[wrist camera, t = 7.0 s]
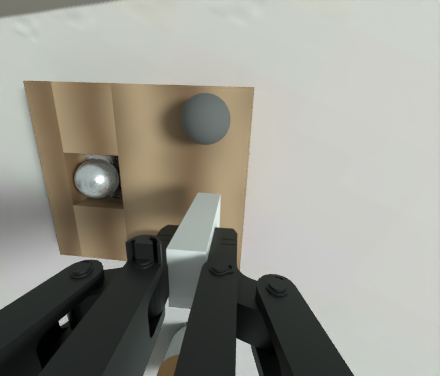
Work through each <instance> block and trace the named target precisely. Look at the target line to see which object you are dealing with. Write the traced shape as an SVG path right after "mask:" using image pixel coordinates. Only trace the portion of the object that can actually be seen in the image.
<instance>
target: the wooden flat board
mask: <svg viewBox="0 0 440 376" xmlns="http://www.w3.org/2000/svg"><path fill="white" fill-rule="evenodd" d="M23 82H24V87H25V91H26V96H27V101H28V105H29V110H30V115H31V119H32V124H33V129H34V133H35V138H36V143H37V147H38V152H39V156H40V161H41V166H42V170H43V175H44V180H45V184H46V189H47V194H48V198H49V203H50V208H51V212H52V217H53V222H54V226H55V231H56V236H57V240H58V245H59V250H60V254H62V255H72V256H82V257H92V258H102V259H112V260H122V261H127V253H126V244H125V242H126V241H128V240H129V239H131V238H133V237H135V236H139V235H154V236H156V235H157V234H158V232H159V231H160V229H162V228H163V227H165V226H166V225H180V224H181V222H182V220H183V218H184V217H185V215H186V213H187V211H188V209H189V208H190V206H191V204H192V202H193V201H194V199H195V197H196V195H197V194H198V193H214V194H221V200H220V227H219V228H232V229H234V230H235V231H236V232H237V267H238V269H239V271H240V260H241V247H242V235H243V222H244V209H245V197H246V184H247V172H248V159H249V147H250V134H251V121H252V109H253V96H254V87H222V86H187V85H153V84H118V83H84V82H49V81H23ZM200 93H210V94H214V95H216V96H218V97H219V98H221V99H222V100H223V101H224V102H225V104H226V105H227V107H228V109H229V112H230V127H229V130H228V132H227V134H226V135H225V136H224V137H223V138H222V139H221V140H220V141H218V142H216V143H214V144H210V145H202V144H198V143H196V142H194V141H192V140H191V139H190V138H189V137H188V136H187V135H186V134H185V132H184V130H183V128H182V124H181V113H182V109H183V107H184V105H185V103H186V102H187V101H188V100H189V99H190V98H191V97H193V96H195V95H197V94H200ZM86 154H97V155H115V156H118V160H119V169H120V179H121V188H122V198H114V197H104V198H98V199H97V198H90V197H87V196H85V195H84V194H82V193H81V192H80V191H79V190H78V189H77V187H76V185H75V181H74V176H75V172H76V170H77V168H78V167H79V166H80V165H81V164H82V163H84V162H86V161H87V159H86Z"/></svg>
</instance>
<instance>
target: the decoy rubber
mask: <svg viewBox="0 0 440 376" xmlns="http://www.w3.org/2000/svg"><path fill="white" fill-rule="evenodd" d="M181 124H182V128H183V130H184V132H185V134H186V135H187V136H188V137H189V138H190V139H191V140H192V141H194V142H196V143H198V144H202V145H210V144H214V143H216V142H218V141H220V140H221V139H222V138H223V137H224V136H225V135H226V134H227V132H228V130H229V127H230V112H229V109H228V107H227V105H226V104H225V102H224V101H223V100H222V99H221V98H219V97H218V96H216V95H214V94H210V93H200V94H197V95H195V96H193V97H191V98H190V99H189V100H188V101H187V102H186V103H185V105H184V107H183V109H182V113H181Z"/></svg>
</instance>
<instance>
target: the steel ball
mask: <svg viewBox="0 0 440 376" xmlns="http://www.w3.org/2000/svg"><path fill="white" fill-rule="evenodd" d="M74 181H75V185H76V187H77V189H78V190H79V191H80V192H81V193H82V194H84V195H85V196H87V197H90V198H97V199H98V198H104V197H107V196H109V195H111V194H112V193H113V192H114V191H115V190H116V189H117V187H118V185H119V174H118V171H117V169H116V168H115V167H114V166H113V165H112V164H111V163H109V162H107V161H105V160H101V159H92V160H88V161H86V162H84V163H82V164H81V165H80V166H79V167H78V168H77V170H76V172H75V176H74Z"/></svg>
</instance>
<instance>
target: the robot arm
mask: <svg viewBox="0 0 440 376" xmlns="http://www.w3.org/2000/svg"><path fill="white" fill-rule="evenodd" d="M220 200H221V194H214V193H198V194H197V195H196V197H195V199H194V201H193V202H192V204H191V206H190V208H189V209H188V211H187V213H186V215H185V217H184V218H183V220H182V222H181V224H180V225H166V226H165V227H163V228H162V229H160V231H159V232H158V234H157V235H156V236H154V235H139V236H135V237H133V238H131V239H129V240H128V241H126V242H125V244H126V253H127V262H126V264H125V265H124V266H123V267H121V268H116V269H108V270H103V265H102V263H101V262H99V261H98V260H84V261H80V262H77V263H74V264H72V265H71V266H69V267H67V268H65V269H64V270H62V271H61V272H59V273H57V274H56V275H54V276H53V277H51V278H50V279H48V280H47V281H45V282H43V283H42V284H40V285H39V286H37V287H36V288H34V289H32V290H31V291H29V292H28V293H26V294H25V295H23V296H21V297H20V298H18V299H17V300H15V301H14V302H12V303H11V304H9V305H7V306H6V307H4V308H3V309H1V310H0V376H143V374H144V371H145V369H146V366H147V363H148V361H149V358H150V355H151V353H152V350H153V347H154V345H155V342H156V339H157V337H158V334H159V331H160V329H161V326H162V323H163V321H164V317H165V304H166V301H167V299H168V298H169V307H178V308H188V309H191V311H190V314H189V318H188V322H187V326H186V330H185V334H184V338H183V341H182V345H181V349H180V353H179V357H178V361H177V364H176V368H175V372H174V376H235V366H236V338H237V339H239V340H242V341H244V342H246V343H248V344H250V345H251V349H252V352H253V356H254V359H255V363H256V366H257V370H258V373H259V376H354V375H353V373H352V372H351V370H350V369H349V367H348V366H347V364H346V363H345V361H344V360H343V358H342V356H341V355H340V353H339V352H338V350H337V349H336V347H335V346H334V344H333V343H332V341H331V340H330V338H329V337H328V335H327V334H326V332H325V330H324V329H323V327H322V326H321V324H320V323H319V321H318V320H317V318H316V317H315V315H314V314H313V312H312V311H311V309H310V307H309V306H308V304H307V303H306V301H305V300H304V298H303V297H302V295H301V294H300V292H299V291H298V289H297V288H296V286H295V285H294V284H293V283H292V282H291V281H290V280H288V279H287V278H285V277H283V276H280V275H276V274H268V275H264V276H262V277H261V278H259V280H258V281H256V280H253V279H251V278H248V277H246V276H245V275H243V274H242V273H241V272H240V271H239V269H238V267H237V232H236V231H235V230H234V229H232V228H219V227H220ZM66 314H67V316H68V320H69V321H68V322H67V323H65V324H64V325H62V326H59V322H58V321H59V320H60V319H61V318H63V317H64V316H65V315H66Z"/></svg>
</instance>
